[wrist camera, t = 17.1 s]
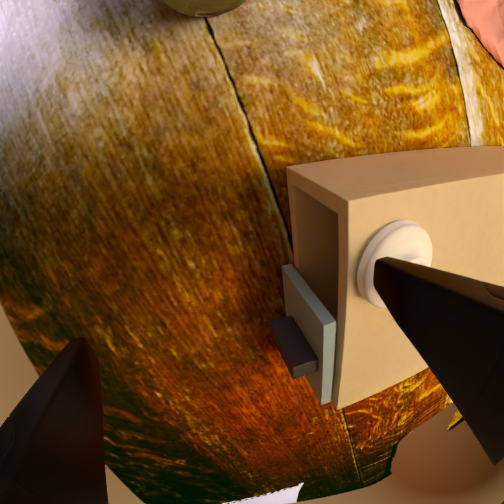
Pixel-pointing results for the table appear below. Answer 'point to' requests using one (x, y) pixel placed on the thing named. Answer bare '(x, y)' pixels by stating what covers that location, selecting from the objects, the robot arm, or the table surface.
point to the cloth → (486, 24)
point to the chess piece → (393, 253)
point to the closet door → (306, 335)
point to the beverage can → (203, 6)
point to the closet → (373, 221)
